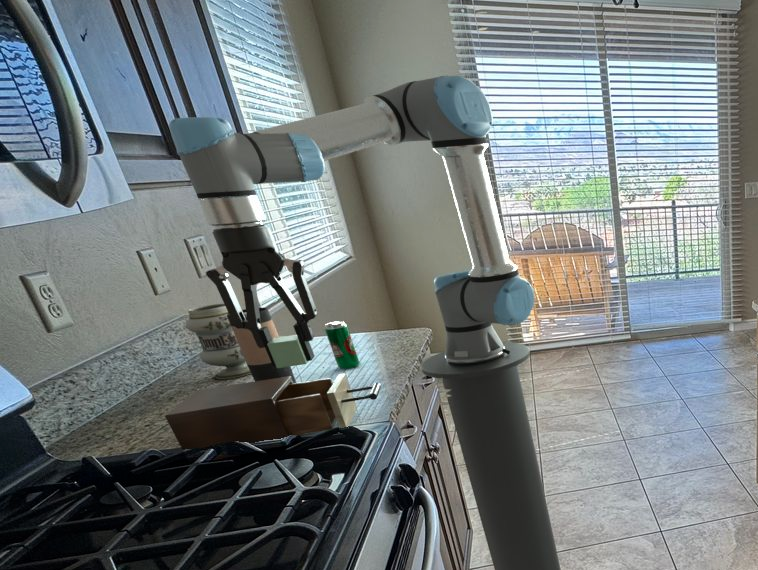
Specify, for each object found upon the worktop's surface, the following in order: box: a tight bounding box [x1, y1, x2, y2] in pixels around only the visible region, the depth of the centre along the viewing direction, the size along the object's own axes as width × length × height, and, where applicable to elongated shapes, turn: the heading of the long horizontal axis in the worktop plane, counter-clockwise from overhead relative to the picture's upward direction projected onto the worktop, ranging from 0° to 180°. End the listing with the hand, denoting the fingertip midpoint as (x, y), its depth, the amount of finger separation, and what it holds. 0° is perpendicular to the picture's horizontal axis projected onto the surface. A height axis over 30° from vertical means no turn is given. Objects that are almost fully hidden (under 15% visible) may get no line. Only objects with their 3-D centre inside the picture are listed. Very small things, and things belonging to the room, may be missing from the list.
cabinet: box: [164, 376, 293, 461], centre depth 109 cm, size 16×14×10 cm
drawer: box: [275, 372, 382, 437], centre depth 113 cm, size 21×13×8 cm, turn 113°
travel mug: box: [227, 307, 297, 383], centre depth 130 cm, size 8×8×20 cm
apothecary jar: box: [185, 303, 252, 380], centre depth 148 cm, size 12×12×18 cm
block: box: [267, 334, 309, 368], centre depth 101 cm, size 4×4×4 cm
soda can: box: [324, 320, 361, 370], centre depth 149 cm, size 5×5×12 cm
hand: (294, 360), depth 102 cm, fingers closed on block, 4 cm apart
